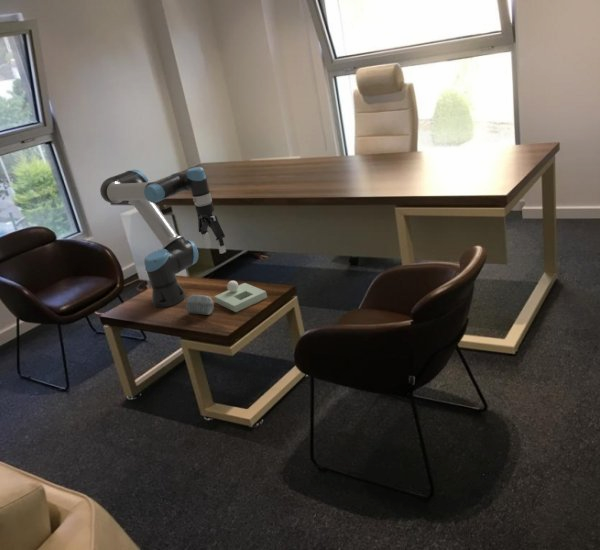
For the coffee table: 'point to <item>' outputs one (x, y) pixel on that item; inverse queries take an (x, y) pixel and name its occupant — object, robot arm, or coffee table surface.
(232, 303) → the green board
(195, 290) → the coffee table surface
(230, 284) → the ball
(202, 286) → the coffee table surface
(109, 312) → the coffee table surface
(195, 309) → the grey streaked egg
